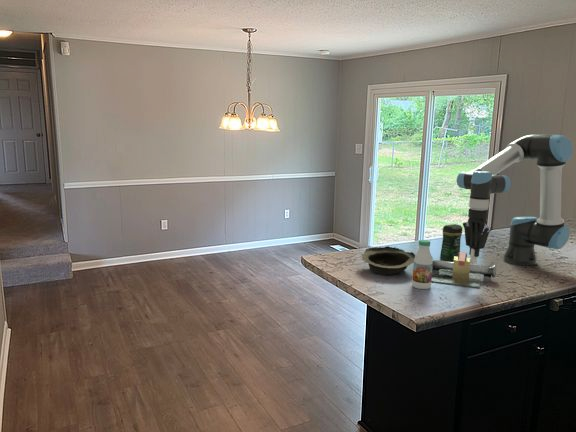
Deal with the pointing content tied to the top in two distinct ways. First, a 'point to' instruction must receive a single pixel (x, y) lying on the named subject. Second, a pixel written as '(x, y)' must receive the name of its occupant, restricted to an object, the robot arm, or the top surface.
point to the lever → (462, 258)
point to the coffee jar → (451, 242)
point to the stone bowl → (387, 259)
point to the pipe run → (461, 273)
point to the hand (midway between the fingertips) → (473, 263)
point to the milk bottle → (422, 266)
